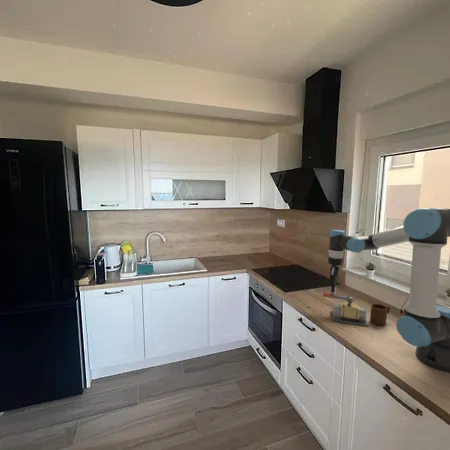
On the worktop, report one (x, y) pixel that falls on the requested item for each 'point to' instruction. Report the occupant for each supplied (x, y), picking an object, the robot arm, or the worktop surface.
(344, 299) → the lever
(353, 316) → the valve
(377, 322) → the mug
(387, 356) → the worktop surface
